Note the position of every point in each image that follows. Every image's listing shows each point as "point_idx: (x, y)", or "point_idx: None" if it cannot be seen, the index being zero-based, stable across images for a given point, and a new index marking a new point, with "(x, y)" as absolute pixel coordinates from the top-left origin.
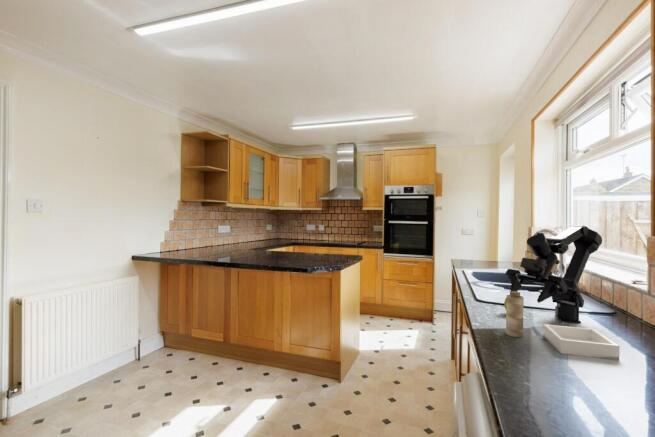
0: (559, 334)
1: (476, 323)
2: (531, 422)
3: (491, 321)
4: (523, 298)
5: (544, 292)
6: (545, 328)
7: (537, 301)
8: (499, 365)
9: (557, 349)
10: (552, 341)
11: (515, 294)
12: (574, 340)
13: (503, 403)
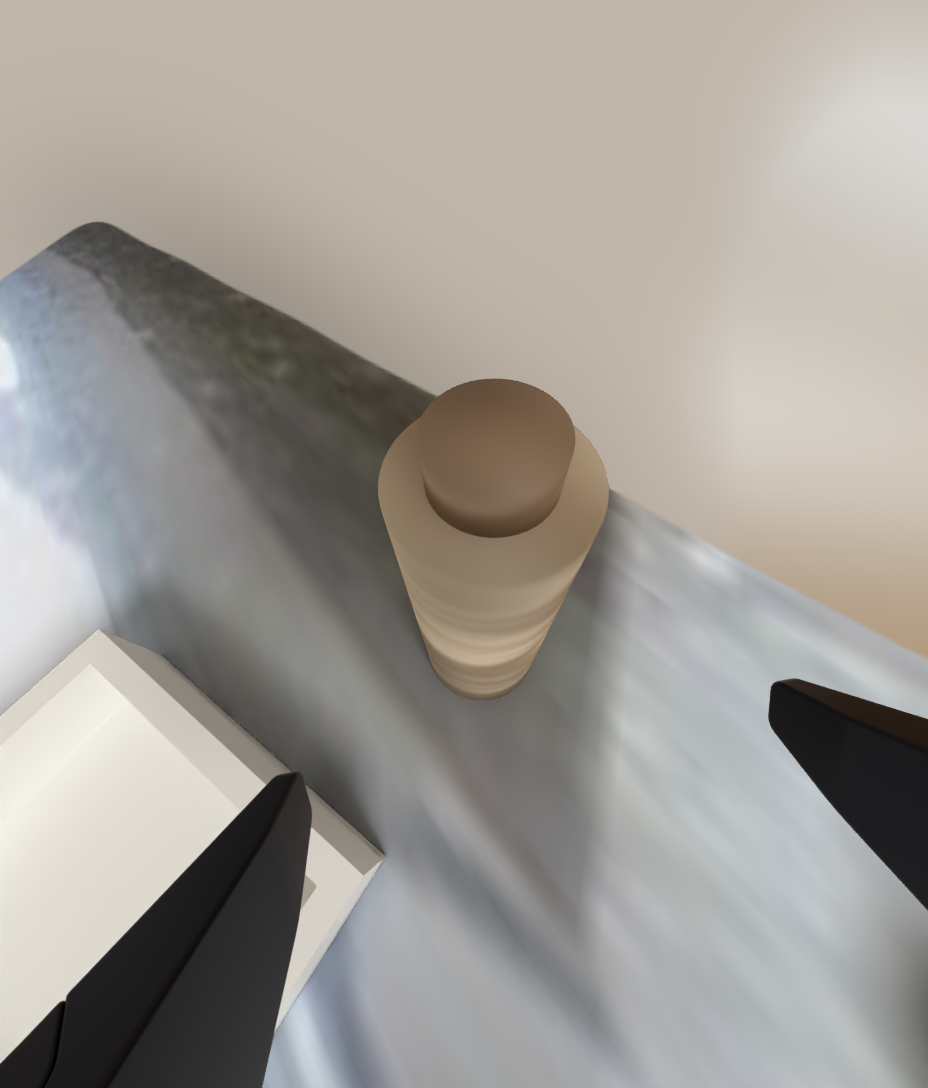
0: None
1: (716, 564)
2: (69, 251)
3: None
4: (393, 539)
5: (53, 1011)
6: (329, 834)
7: (304, 785)
8: (258, 341)
9: (191, 683)
10: (238, 732)
11: (439, 409)
12: (18, 717)
13: (140, 249)
